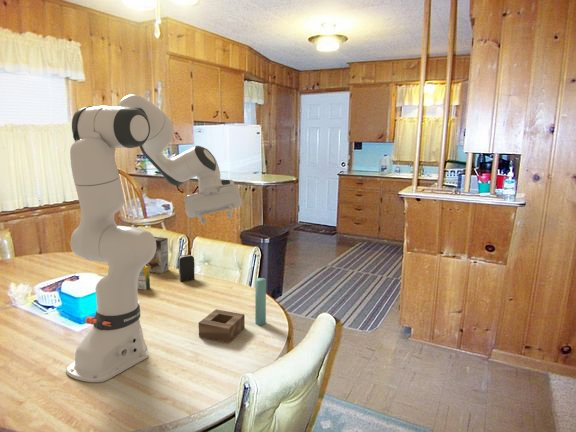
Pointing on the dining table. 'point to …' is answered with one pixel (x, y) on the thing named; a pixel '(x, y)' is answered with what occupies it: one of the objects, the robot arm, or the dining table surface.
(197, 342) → the dining table surface
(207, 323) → the socket block
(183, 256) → the battery charger
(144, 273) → the crayon box
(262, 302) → the peg
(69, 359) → the dining table surface
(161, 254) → the coffee box
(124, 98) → the robot arm
